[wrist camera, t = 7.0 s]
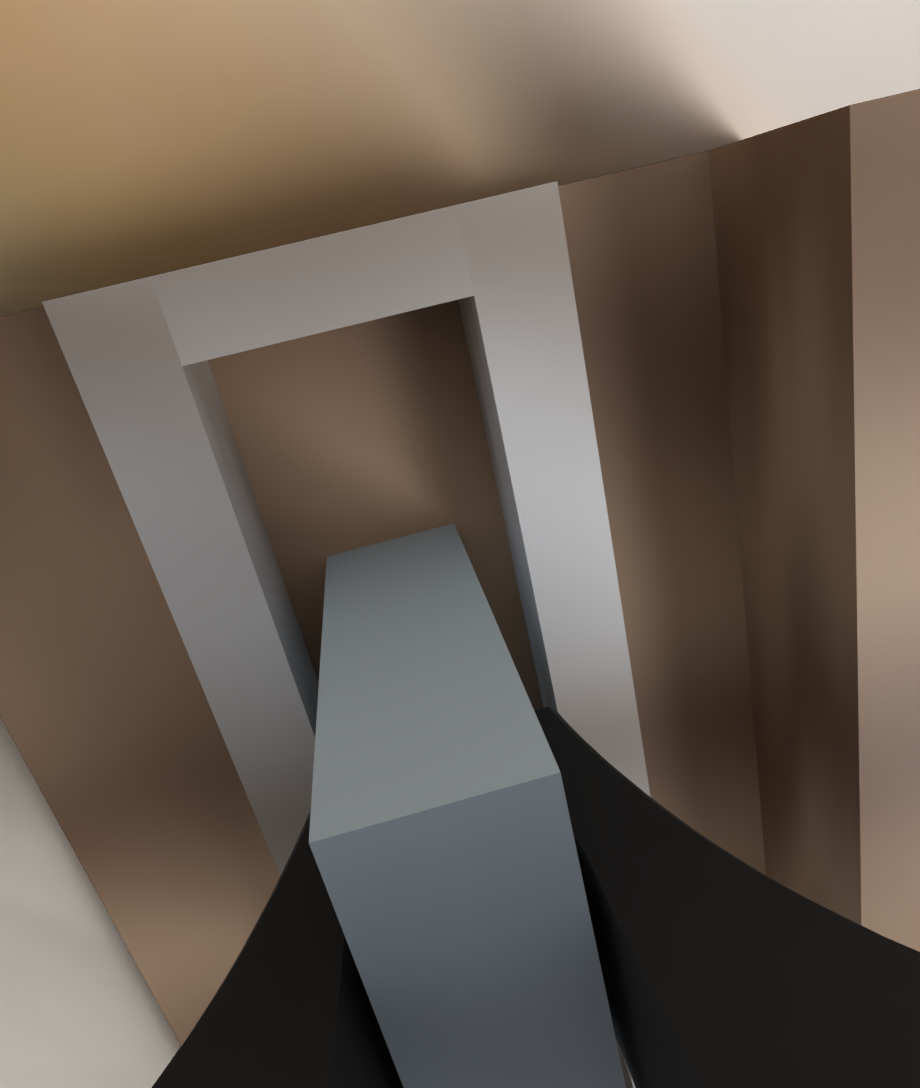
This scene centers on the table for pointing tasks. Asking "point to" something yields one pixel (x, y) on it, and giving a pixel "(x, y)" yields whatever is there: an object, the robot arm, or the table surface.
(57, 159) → the table surface
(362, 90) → the table surface
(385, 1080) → the robot arm
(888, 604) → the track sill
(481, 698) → the door panel
